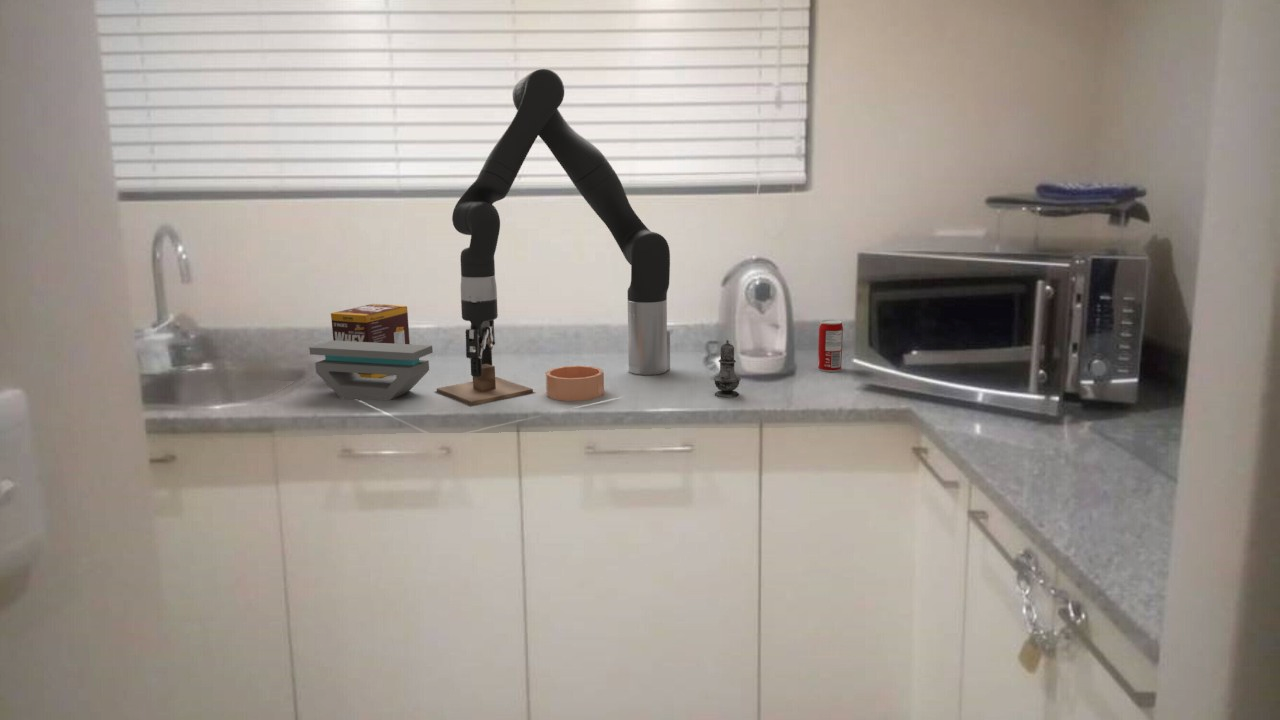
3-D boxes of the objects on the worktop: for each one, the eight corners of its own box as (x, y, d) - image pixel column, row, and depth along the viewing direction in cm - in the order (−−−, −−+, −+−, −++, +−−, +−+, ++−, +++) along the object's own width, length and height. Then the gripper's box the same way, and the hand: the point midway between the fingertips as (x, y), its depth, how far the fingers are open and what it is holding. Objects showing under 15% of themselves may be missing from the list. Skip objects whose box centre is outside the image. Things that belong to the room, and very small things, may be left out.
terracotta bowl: (580, 385, 192) (580, 363, 191) (614, 395, 183) (614, 372, 182) (536, 394, 185) (535, 371, 184) (568, 405, 176) (568, 381, 175)
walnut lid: (496, 380, 196) (495, 355, 194) (532, 392, 185) (531, 366, 183) (436, 391, 186) (435, 365, 185) (471, 405, 175) (470, 377, 174)
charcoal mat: (497, 381, 196) (497, 379, 196) (536, 394, 185) (536, 392, 185) (433, 393, 186) (433, 391, 186) (470, 408, 174) (470, 406, 174)
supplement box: (335, 378, 202) (329, 312, 198) (378, 364, 216) (373, 303, 212) (370, 381, 198) (365, 315, 195) (412, 367, 212) (407, 305, 208)
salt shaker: (739, 398, 179) (740, 342, 177) (711, 397, 181) (711, 341, 178) (741, 391, 185) (742, 337, 182) (714, 390, 186) (715, 336, 184)
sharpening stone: (314, 396, 185) (309, 347, 183) (336, 387, 193) (331, 340, 190) (416, 404, 178) (412, 353, 176) (435, 394, 186) (432, 345, 183)
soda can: (825, 366, 208) (827, 317, 205) (845, 369, 204) (847, 320, 202) (813, 370, 204) (814, 320, 201) (833, 373, 200) (835, 323, 198)
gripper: (470, 292, 188) (473, 364, 192) (451, 301, 174) (455, 379, 178) (504, 292, 188) (506, 364, 191) (487, 302, 174) (490, 379, 177)
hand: (482, 371), depth 185 cm, fingers open, 8 cm apart
